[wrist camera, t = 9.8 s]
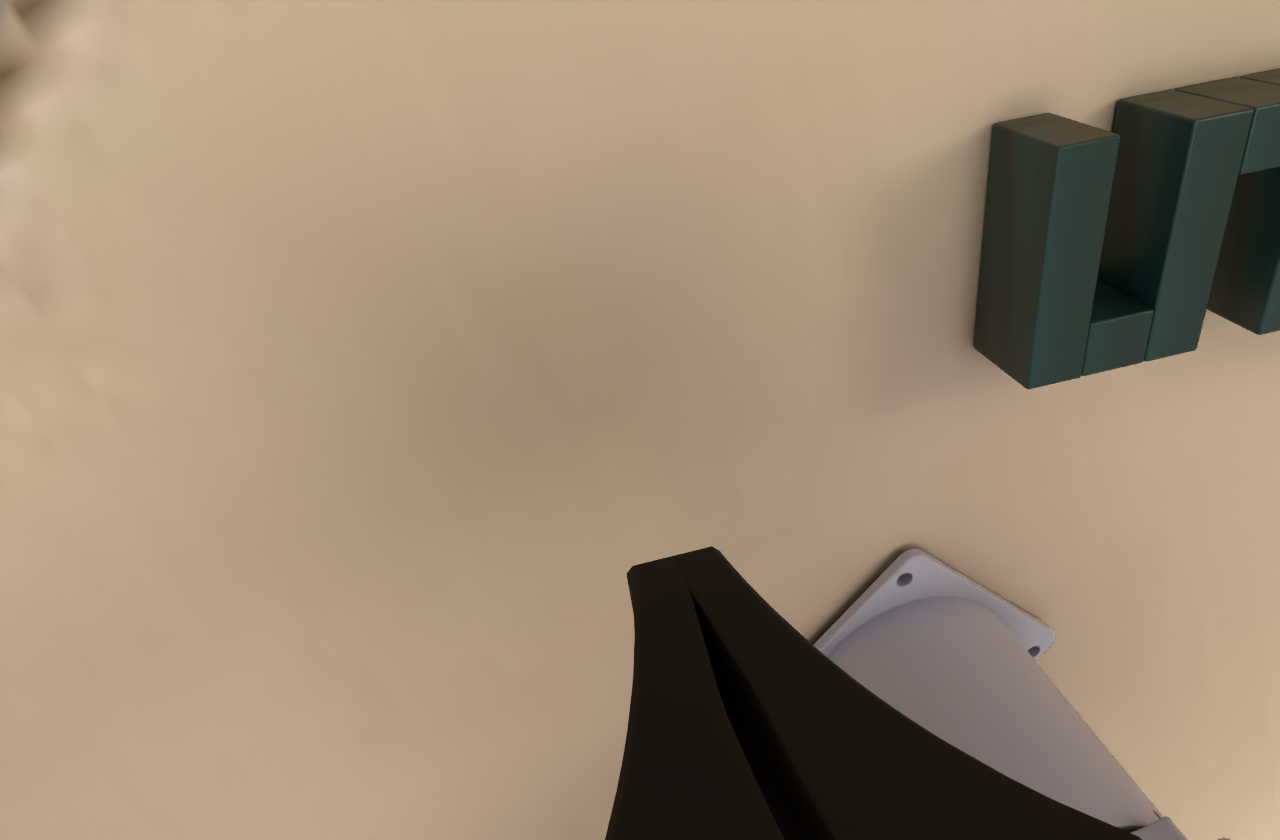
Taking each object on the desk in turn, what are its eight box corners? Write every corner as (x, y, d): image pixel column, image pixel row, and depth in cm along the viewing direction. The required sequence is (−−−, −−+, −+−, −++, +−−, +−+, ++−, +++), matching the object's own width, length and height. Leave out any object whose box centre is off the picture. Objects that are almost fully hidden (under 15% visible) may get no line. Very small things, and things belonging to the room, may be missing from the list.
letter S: (972, 348, 24) (1027, 390, 21) (992, 123, 20) (1058, 146, 18) (1232, 289, 24) (1309, 324, 22) (1290, 65, 21) (1384, 82, 19)
